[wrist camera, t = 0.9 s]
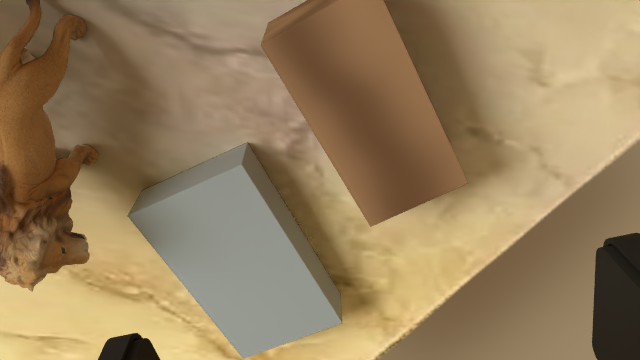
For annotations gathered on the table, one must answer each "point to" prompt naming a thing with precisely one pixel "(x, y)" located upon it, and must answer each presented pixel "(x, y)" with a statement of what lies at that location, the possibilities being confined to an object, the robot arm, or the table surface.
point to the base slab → (239, 252)
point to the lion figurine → (36, 159)
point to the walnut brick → (364, 103)
